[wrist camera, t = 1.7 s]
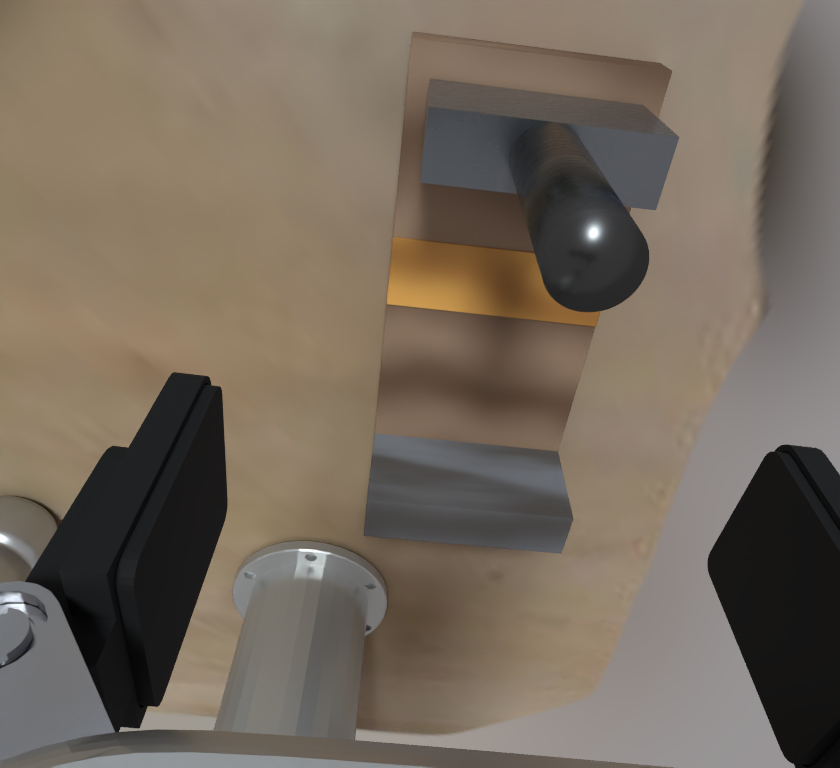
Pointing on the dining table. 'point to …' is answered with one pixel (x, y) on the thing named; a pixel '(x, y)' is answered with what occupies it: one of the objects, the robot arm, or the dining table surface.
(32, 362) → the dining table surface
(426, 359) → the press base
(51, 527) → the plastic bottle
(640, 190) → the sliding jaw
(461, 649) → the dining table surface
